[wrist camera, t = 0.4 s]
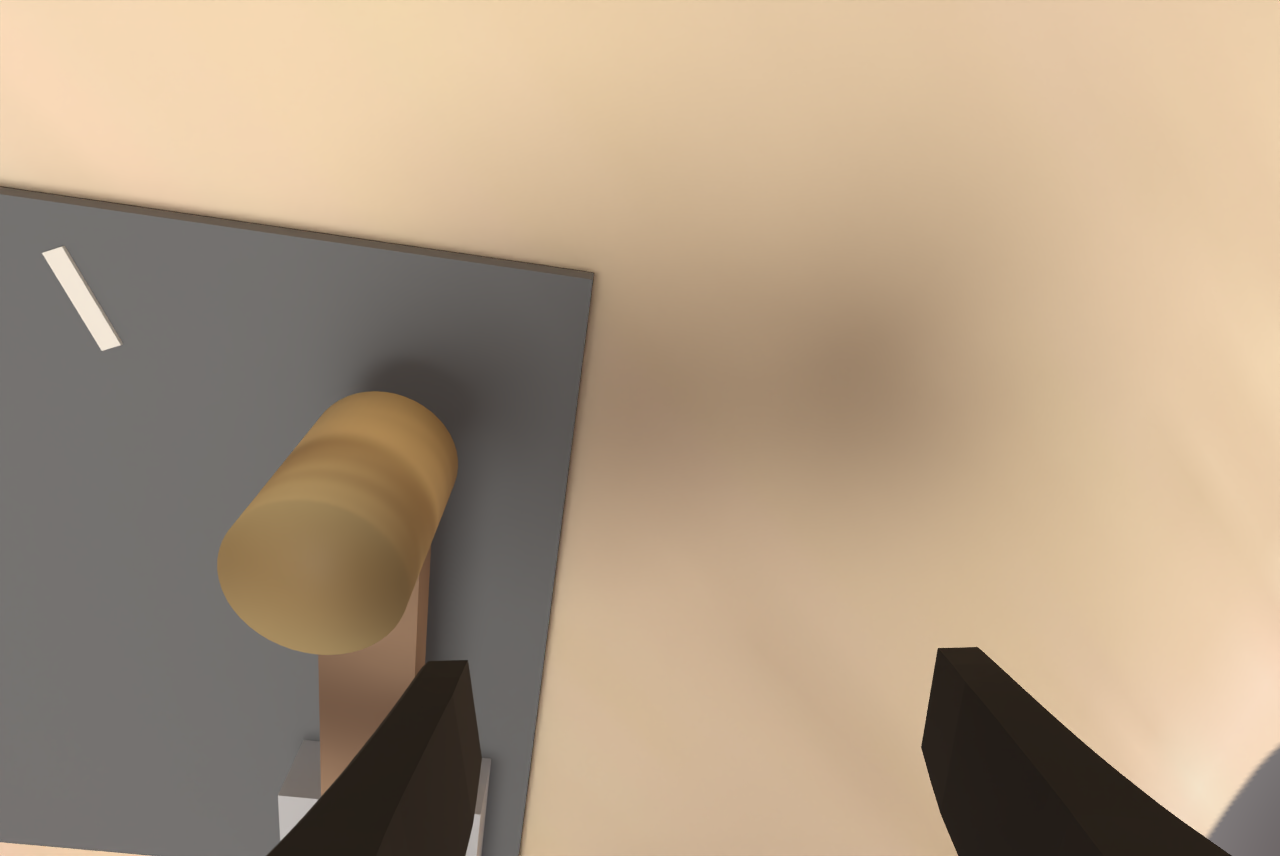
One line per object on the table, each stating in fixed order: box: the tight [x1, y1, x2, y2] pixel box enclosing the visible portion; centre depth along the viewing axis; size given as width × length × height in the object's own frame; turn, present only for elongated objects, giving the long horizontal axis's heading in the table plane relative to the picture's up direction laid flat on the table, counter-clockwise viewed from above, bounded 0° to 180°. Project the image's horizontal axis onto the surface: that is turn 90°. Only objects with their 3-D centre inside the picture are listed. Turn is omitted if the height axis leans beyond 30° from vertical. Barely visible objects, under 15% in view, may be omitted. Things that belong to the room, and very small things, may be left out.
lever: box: [217, 391, 458, 796], centre depth 19 cm, size 18×4×4 cm, turn 171°
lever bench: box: [0, 187, 594, 856], centre depth 22 cm, size 21×19×3 cm
